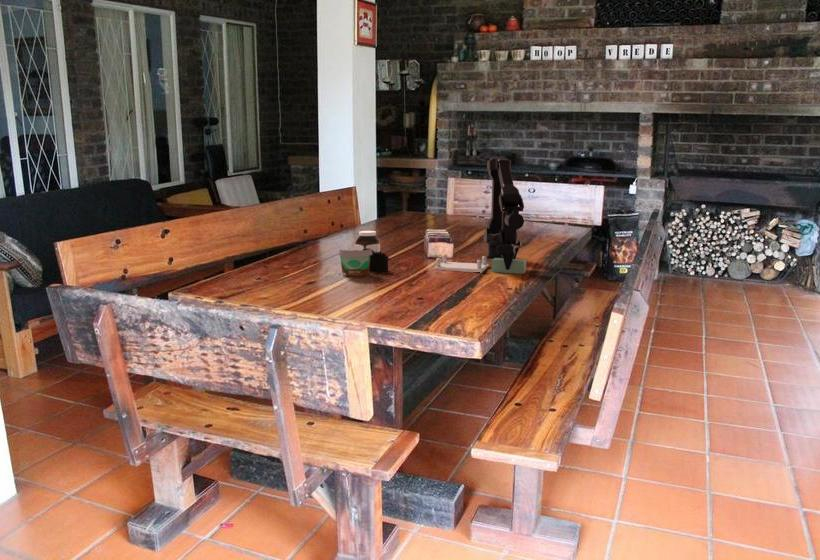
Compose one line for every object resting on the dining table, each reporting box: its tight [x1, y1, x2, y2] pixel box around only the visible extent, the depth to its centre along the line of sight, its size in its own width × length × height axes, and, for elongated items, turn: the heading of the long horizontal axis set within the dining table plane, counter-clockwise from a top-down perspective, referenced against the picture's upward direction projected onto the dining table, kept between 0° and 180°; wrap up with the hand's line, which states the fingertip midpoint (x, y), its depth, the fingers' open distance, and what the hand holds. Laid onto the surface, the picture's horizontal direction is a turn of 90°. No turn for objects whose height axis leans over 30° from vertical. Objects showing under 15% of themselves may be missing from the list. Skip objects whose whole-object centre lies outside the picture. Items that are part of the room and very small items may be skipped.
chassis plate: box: [433, 254, 489, 274], centre depth 276 cm, size 12×18×4 cm, turn 72°
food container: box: [337, 248, 372, 279], centre depth 261 cm, size 12×6×10 cm, turn 101°
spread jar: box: [349, 230, 381, 252], centre depth 296 cm, size 12×11×12 cm
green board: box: [491, 257, 527, 275], centre depth 270 cm, size 5×12×4 cm, turn 72°
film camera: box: [363, 248, 390, 273], centre depth 273 cm, size 15×10×9 cm, turn 74°
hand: (508, 268), depth 270 cm, fingers closed on green board, 5 cm apart
